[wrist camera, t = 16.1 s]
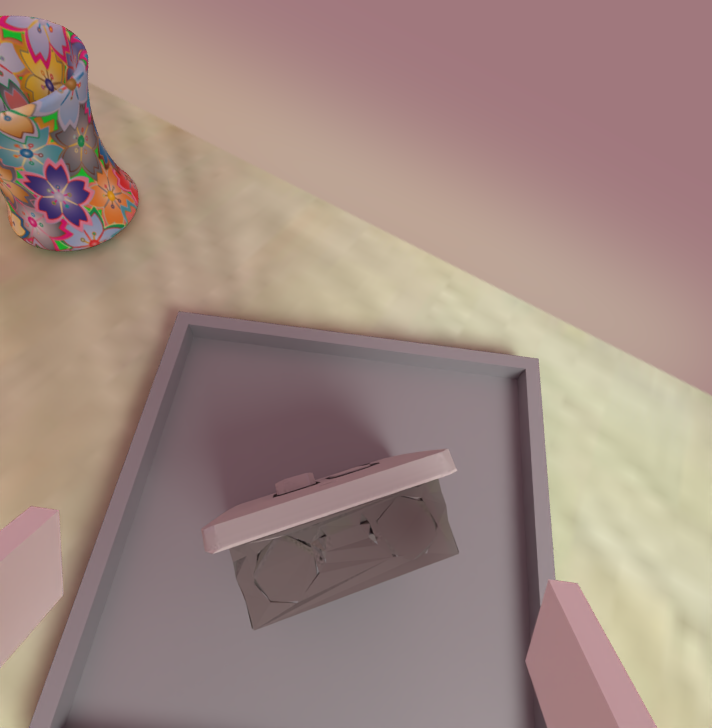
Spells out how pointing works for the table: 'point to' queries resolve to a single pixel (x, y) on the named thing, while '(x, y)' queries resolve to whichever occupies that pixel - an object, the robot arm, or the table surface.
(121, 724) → the grey square tray
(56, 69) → the mug
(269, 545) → the electrical switch
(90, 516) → the table surface
